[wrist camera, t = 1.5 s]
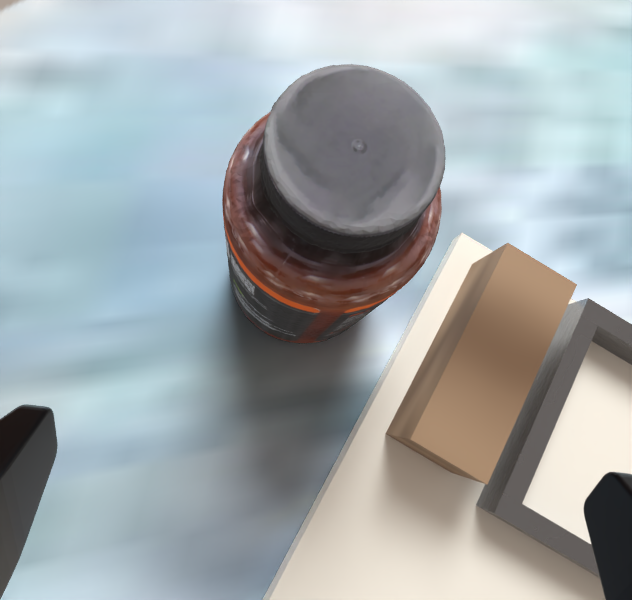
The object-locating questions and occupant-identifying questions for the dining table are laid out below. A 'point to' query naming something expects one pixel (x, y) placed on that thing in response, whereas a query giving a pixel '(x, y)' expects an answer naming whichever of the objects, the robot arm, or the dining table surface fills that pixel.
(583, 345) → the gray square frame
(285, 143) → the supplement bottle
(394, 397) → the cream flat board
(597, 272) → the dining table surface
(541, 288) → the walnut wall block
